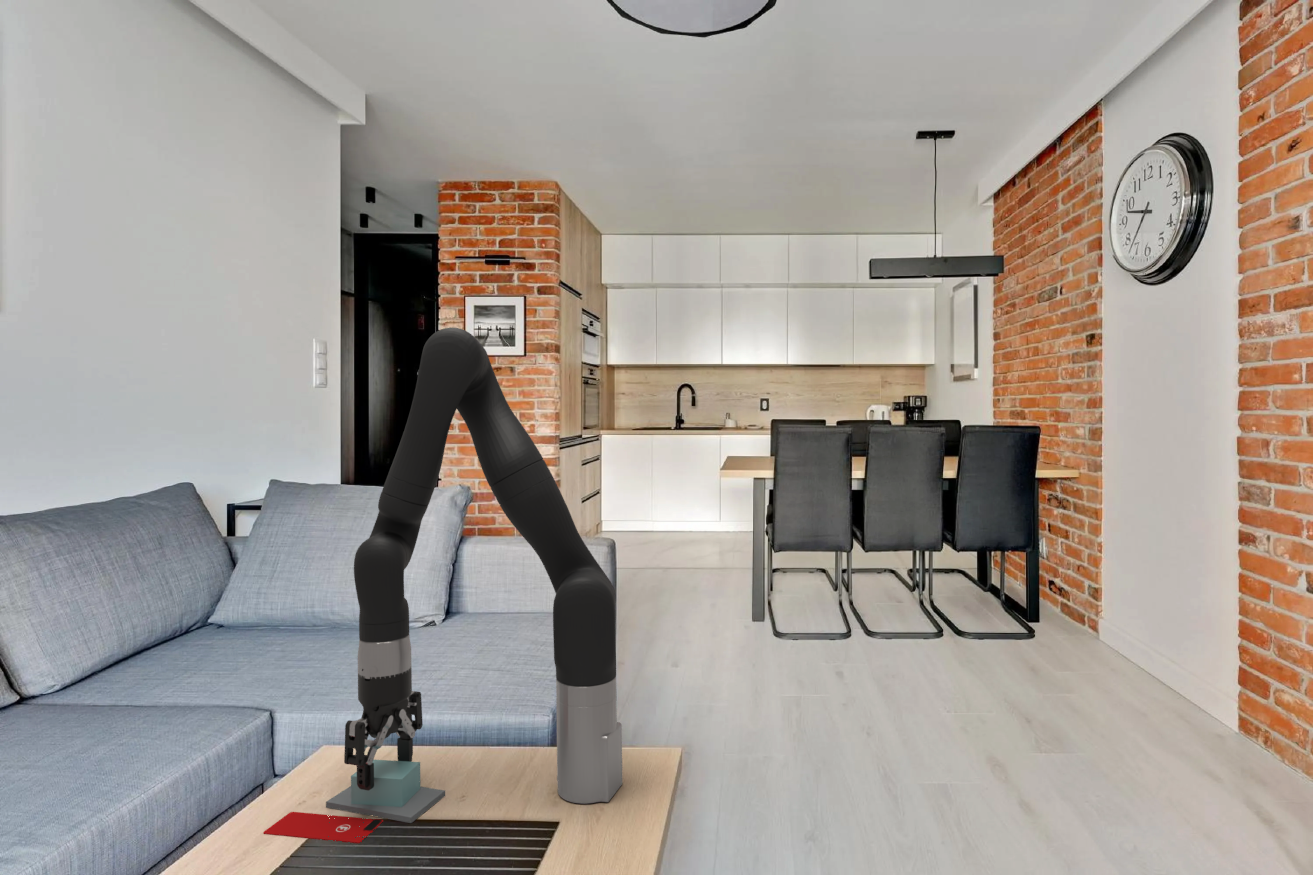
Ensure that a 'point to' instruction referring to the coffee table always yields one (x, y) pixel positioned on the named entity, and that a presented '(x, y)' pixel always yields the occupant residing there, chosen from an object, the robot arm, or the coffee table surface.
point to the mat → (405, 814)
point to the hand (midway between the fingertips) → (386, 775)
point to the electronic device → (323, 827)
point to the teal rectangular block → (389, 784)
